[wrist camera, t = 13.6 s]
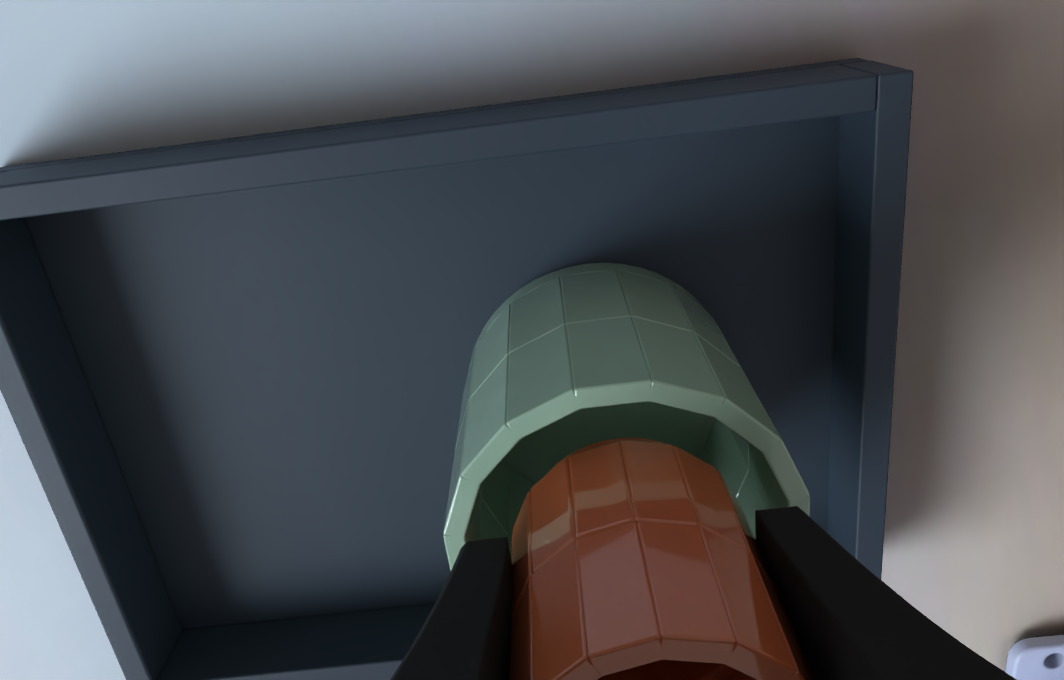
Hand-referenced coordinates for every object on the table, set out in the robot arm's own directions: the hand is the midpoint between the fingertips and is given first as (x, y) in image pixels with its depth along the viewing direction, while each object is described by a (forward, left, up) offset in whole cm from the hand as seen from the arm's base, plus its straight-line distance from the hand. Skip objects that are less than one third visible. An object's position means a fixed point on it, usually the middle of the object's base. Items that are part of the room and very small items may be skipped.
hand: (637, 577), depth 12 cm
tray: (+3, 0, -7) cm, 8 cm away
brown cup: (0, 0, -1) cm, 1 cm away
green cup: (0, 0, -6) cm, 6 cm away
